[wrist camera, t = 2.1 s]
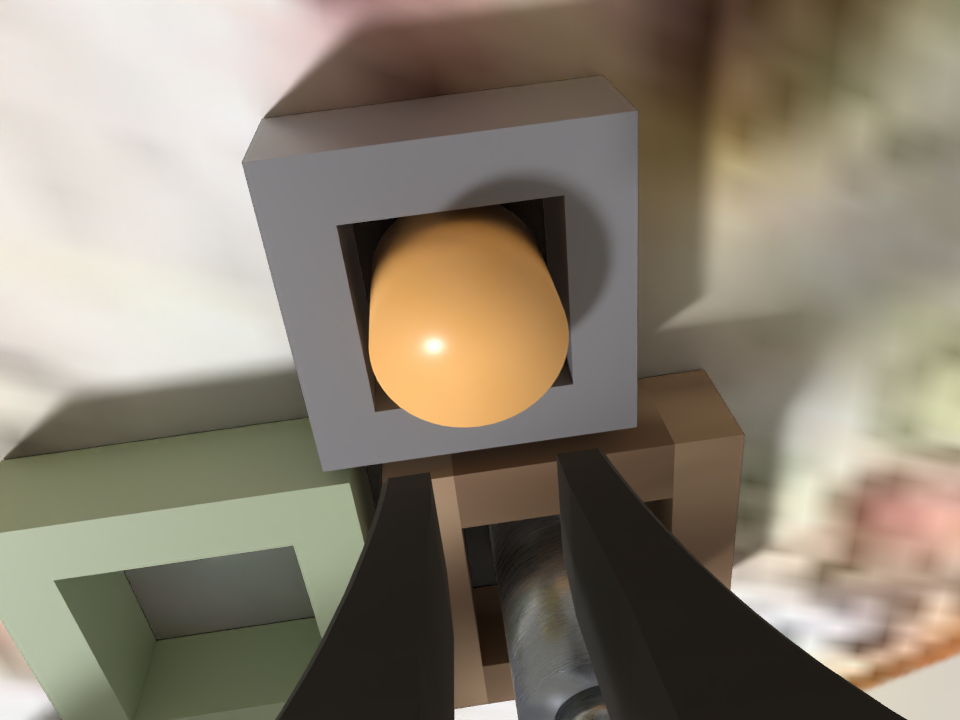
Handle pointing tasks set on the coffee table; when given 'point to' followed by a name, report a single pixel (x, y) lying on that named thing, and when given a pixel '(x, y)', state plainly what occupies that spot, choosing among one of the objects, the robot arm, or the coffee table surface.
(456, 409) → the button
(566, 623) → the steel pin
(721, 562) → the socket block
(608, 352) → the button housing
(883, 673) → the coffee table surface
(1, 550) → the frame
